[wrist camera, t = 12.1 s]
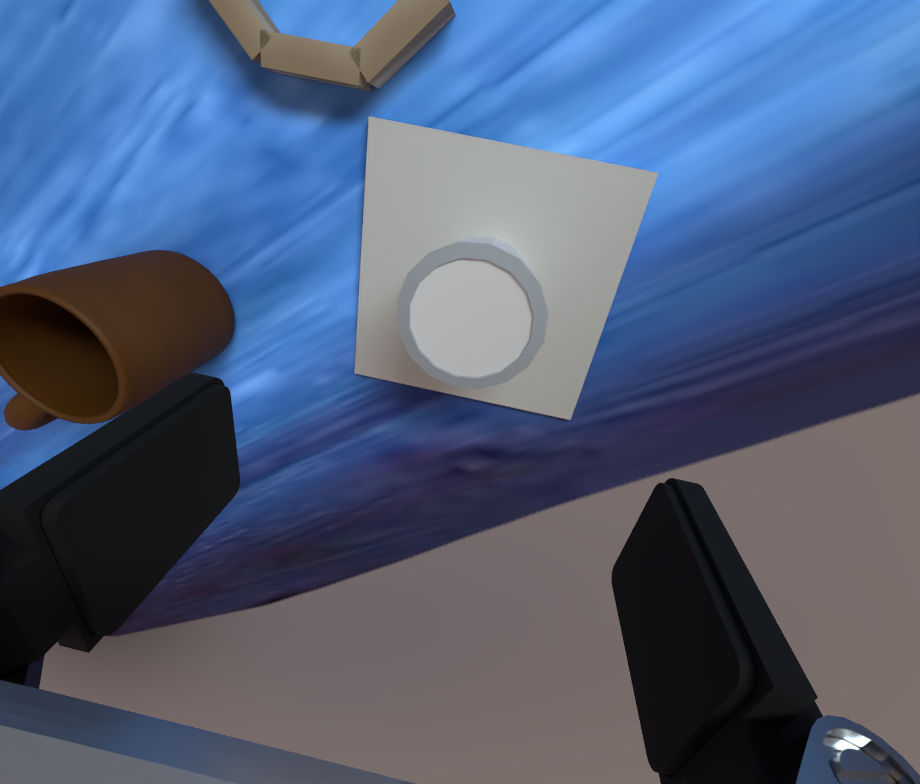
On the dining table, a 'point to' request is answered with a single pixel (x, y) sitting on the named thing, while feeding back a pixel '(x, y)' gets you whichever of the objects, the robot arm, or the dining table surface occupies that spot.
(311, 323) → the dining table surface
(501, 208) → the rubber mat
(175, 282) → the mug
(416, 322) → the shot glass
